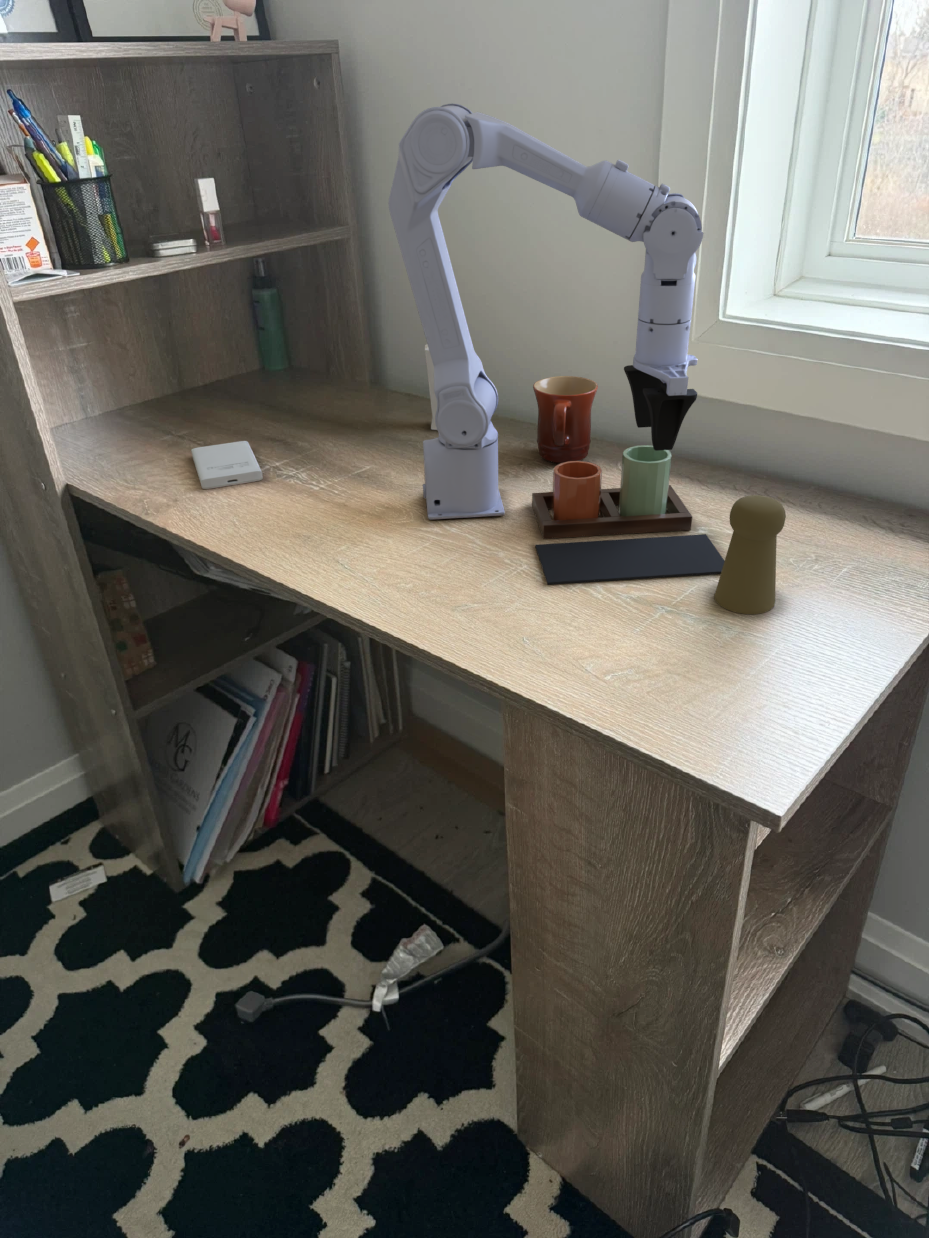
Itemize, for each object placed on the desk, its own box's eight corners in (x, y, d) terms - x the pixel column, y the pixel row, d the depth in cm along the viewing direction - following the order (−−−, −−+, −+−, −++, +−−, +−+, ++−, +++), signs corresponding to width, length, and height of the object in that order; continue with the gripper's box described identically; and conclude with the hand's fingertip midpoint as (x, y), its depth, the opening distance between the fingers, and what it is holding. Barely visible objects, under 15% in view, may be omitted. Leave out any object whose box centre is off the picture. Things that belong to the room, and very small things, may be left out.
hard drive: (249, 450, 132) (263, 480, 122) (192, 459, 130) (202, 490, 120) (247, 440, 132) (261, 469, 122) (190, 448, 129) (199, 478, 119)
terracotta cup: (556, 531, 107) (558, 480, 103) (549, 511, 111) (550, 462, 108) (603, 528, 107) (606, 477, 103) (593, 508, 112) (596, 459, 108)
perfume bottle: (438, 419, 142) (434, 322, 134) (461, 424, 139) (457, 326, 132) (420, 428, 138) (415, 329, 131) (443, 433, 136) (439, 333, 128)
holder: (543, 539, 105) (543, 525, 104) (531, 506, 113) (532, 492, 112) (691, 530, 106) (692, 516, 105) (669, 498, 114) (670, 484, 113)
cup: (624, 527, 107) (629, 464, 103) (614, 507, 112) (618, 446, 108) (670, 524, 107) (677, 461, 103) (658, 505, 112) (664, 444, 108)
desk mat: (547, 584, 96) (547, 582, 95) (535, 546, 103) (535, 544, 103) (731, 573, 97) (731, 570, 97) (705, 536, 104) (706, 534, 104)
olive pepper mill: (739, 619, 89) (755, 518, 83) (702, 592, 93) (714, 494, 88) (787, 605, 91) (806, 506, 85) (749, 579, 95) (764, 483, 90)
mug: (536, 444, 131) (537, 374, 126) (596, 447, 130) (600, 376, 124) (524, 476, 121) (525, 402, 116) (589, 479, 120) (593, 404, 114)
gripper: (721, 333, 92) (706, 458, 99) (681, 302, 104) (670, 415, 111) (654, 336, 92) (644, 461, 99) (621, 305, 104) (614, 418, 111)
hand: (654, 437), depth 105 cm, fingers open, 7 cm apart
